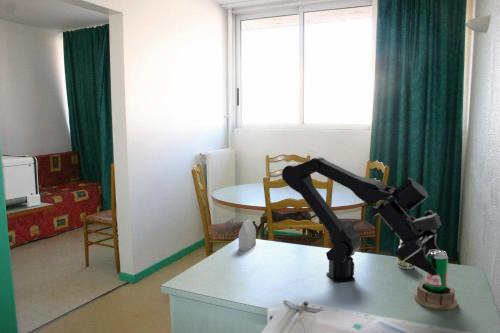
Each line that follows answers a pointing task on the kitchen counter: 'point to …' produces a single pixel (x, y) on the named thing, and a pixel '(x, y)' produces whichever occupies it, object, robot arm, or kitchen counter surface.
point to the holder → (436, 298)
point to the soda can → (440, 264)
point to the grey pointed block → (247, 235)
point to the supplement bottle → (402, 263)
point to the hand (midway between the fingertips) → (440, 269)
